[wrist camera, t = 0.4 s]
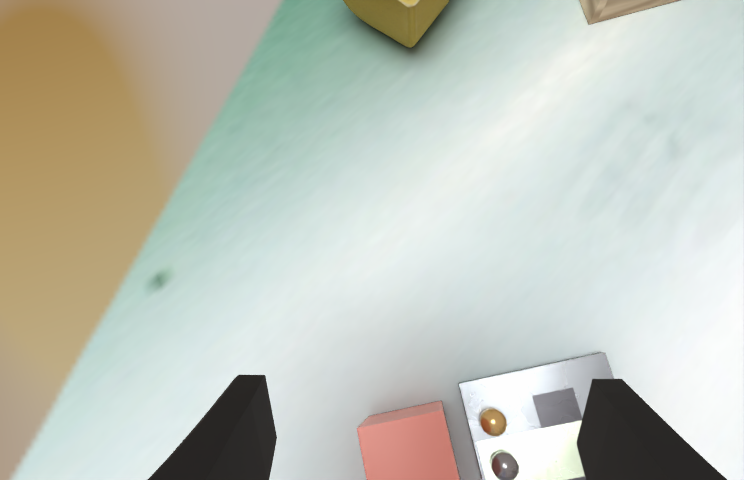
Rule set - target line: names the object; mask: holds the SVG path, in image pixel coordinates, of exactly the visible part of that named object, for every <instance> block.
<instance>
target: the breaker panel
mask: <svg viewBox="0 0 744 480" xmlns="http://www.w3.org/2000/svg"><path fill="white" fill-rule="evenodd" d="M592 379H614V378H613V375H612V372H611V369H610V366H609V363H608V360H607V357H606V353H596V354H591V355H587V356H582V357H577V358H573V359H568V360H564V361H559V362H554V363H550V364H545V365H540V366H536V367H531V368H526V369H522V370H517V371H512V372H508V373H503V374H498V375H494V376H489V377H484V378H480V379H475V380H470V381H466V382H461V383H459V387H460V391H461V395H462V399H463V403H464V407H465V411H466V415H467V419H468V423H469V427H470V431H471V435H472V439H473V443H474V447H475V452H476V456H477V460H478V464H479V468H480V472H481V476H482V480H586V478H585V474H584V471H583V467H582V463H581V459H580V455H579V452H578V448H577V444H576V442H577V438H578V434H579V430H580V426H581V422H582V418H583V414H584V410H585V406H586V402H587V398H588V394H589V390H590V386H591V382H592Z"/></svg>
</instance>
